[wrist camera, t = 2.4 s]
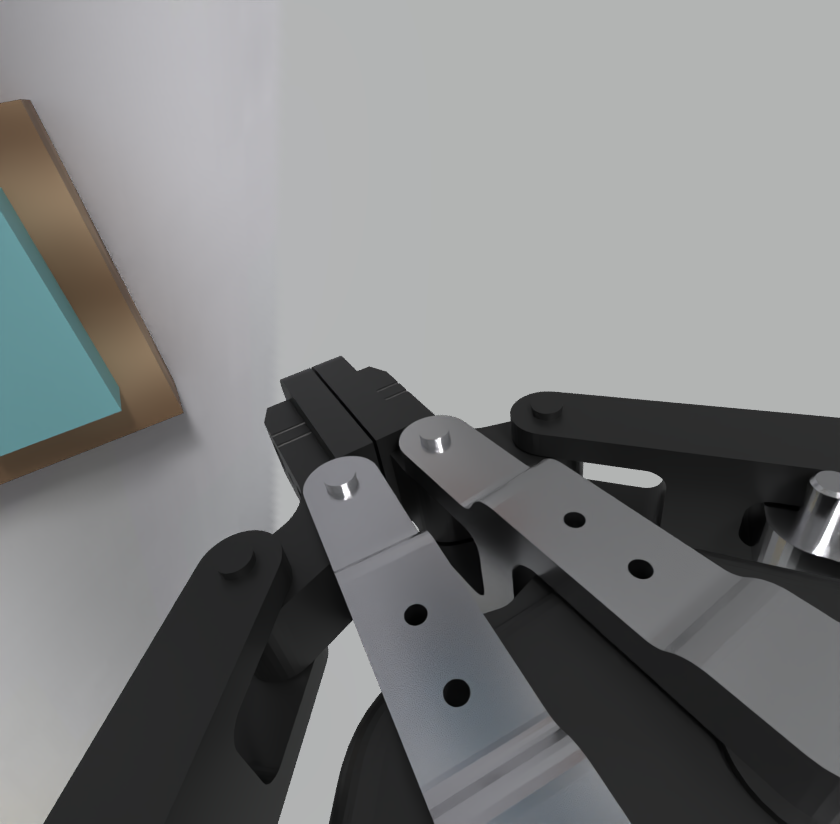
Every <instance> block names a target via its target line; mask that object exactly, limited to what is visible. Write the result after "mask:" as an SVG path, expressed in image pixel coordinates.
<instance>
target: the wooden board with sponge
mask: <svg viewBox="0 0 840 824" xmlns="http://www.w3.org/2000/svg"><path fill="white" fill-rule="evenodd" d="M0 187H1V188H2V189H3V191H4V193H5V195H6V196H7V198H8V200H9V201H10V203H11V205H12V206H13V208H14V210H15V212H16V213H17V215H18V217H19V218H20V220H21V222H22V223H23V225H24V227H25V228H26V230H27V232H28V234H29V235H30V237H31V239H32V240H33V242H34V244H35V245H36V247H37V249H38V251H39V252H40V254H41V256H42V257H43V259H44V261H45V262H46V264H47V266H48V267H49V269H50V271H51V273H52V274H53V276H54V278H55V279H56V281H57V283H58V284H59V286H60V288H61V290H62V291H63V293H64V295H65V296H66V298H67V300H68V301H69V303H70V305H71V306H72V308H73V310H74V312H75V313H76V315H77V317H78V318H79V320H80V322H81V323H82V325H83V327H84V329H85V330H86V332H87V334H88V335H89V337H90V339H91V340H92V342H93V344H94V345H95V347H96V349H97V351H98V352H99V354H100V356H101V357H102V359H103V361H104V362H105V364H106V366H107V368H108V369H109V371H110V373H111V374H112V376H113V378H114V379H115V381H116V383H117V384H118V386H119V391H120V400H121V410H122V411H120V412H117V413H114V414H112V415H109V416H106V417H104V418H101V419H98V420H96V421H93V422H90V423H88V424H85V425H82V426H80V427H77V428H74V429H72V430H69V431H66V432H64V433H61V434H58V435H56V436H53V437H50V438H48V439H45V440H43V441H40V442H37V443H35V444H32V445H29V446H27V447H24V448H21V449H19V450H16V451H13V452H11V453H8V454H5V455H3V456H0V485H1V484H3V483H6V482H8V481H11V480H13V479H16V478H19V477H21V476H24V475H26V474H29V473H31V472H34V471H36V470H39V469H42V468H44V467H47V466H49V465H52V464H54V463H57V462H59V461H62V460H65V459H67V458H70V457H72V456H75V455H77V454H80V453H82V452H85V451H88V450H90V449H93V448H95V447H98V446H100V445H103V444H105V443H108V442H111V441H113V440H116V439H118V438H121V437H123V436H126V435H128V434H131V433H134V432H136V431H139V430H141V429H144V428H146V427H149V426H151V425H154V424H157V423H159V422H162V421H164V420H167V419H169V418H172V417H174V416H177V415H180V414H182V413H184V412H183V409H182V406H181V402H180V399H179V396H178V393H177V389H176V386H175V383H174V380H173V378H172V376H171V374H170V372H169V370H168V369H167V367H166V365H165V363H164V361H163V359H162V357H161V355H160V353H159V351H158V349H157V347H156V345H155V343H154V341H153V339H152V337H151V335H150V333H149V331H148V329H147V328H146V326H145V324H144V322H143V320H142V318H141V316H140V314H139V312H138V310H137V308H136V306H135V304H134V302H133V300H132V298H131V296H130V294H129V292H128V290H127V288H126V286H125V285H124V283H123V281H122V279H121V277H120V275H119V273H118V271H117V269H116V267H115V265H114V263H113V261H112V259H111V257H110V255H109V253H108V251H107V249H106V247H105V245H104V244H103V242H102V240H101V238H100V236H99V234H98V232H97V230H96V228H95V226H94V224H93V222H92V220H91V218H90V216H89V214H88V212H87V210H86V208H85V206H84V204H83V203H82V201H81V199H80V197H79V195H78V193H77V191H76V189H75V187H74V185H73V183H72V181H71V179H70V177H69V175H68V173H67V171H66V169H65V167H64V165H63V163H62V161H61V160H60V158H59V156H58V154H57V152H56V150H55V148H54V146H53V144H52V142H51V140H50V138H49V136H48V134H47V132H46V130H45V128H44V126H43V124H42V122H41V120H40V119H39V117H38V115H37V113H36V111H35V109H34V107H33V105H32V103H31V101H30V100H21V99H20V100H15V101H9V102H4V103H0Z"/></svg>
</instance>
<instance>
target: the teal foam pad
mask: <svg viewBox="0 0 840 824" xmlns="http://www.w3.org/2000/svg"><path fill="white" fill-rule="evenodd" d="M120 411H122V410H121V400H120V391H119V386H118V384H117V383H116V381H115V379H114V378H113V376H112V374H111V373H110V371H109V369H108V368H107V366H106V364H105V362H104V361H103V359H102V357H101V356H100V354H99V352H98V351H97V349H96V347H95V345H94V344H93V342H92V340H91V339H90V337H89V335H88V334H87V332H86V330H85V329H84V327H83V325H82V323H81V322H80V320H79V318H78V317H77V315H76V313H75V312H74V310H73V308H72V306H71V305H70V303H69V301H68V300H67V298H66V296H65V295H64V293H63V291H62V290H61V288H60V286H59V284H58V283H57V281H56V279H55V278H54V276H53V274H52V273H51V271H50V269H49V267H48V266H47V264H46V262H45V261H44V259H43V257H42V256H41V254H40V252H39V251H38V249H37V247H36V245H35V244H34V242H33V240H32V239H31V237H30V235H29V234H28V232H27V230H26V228H25V227H24V225H23V223H22V222H21V220H20V218H19V217H18V215H17V213H16V212H15V210H14V208H13V206H12V205H11V203H10V201H9V200H8V198H7V196H6V195H5V193H4V191H3V189H2V188H1V187H0V456H3V455H5V454H8V453H11V452H13V451H16V450H19V449H21V448H24V447H27V446H29V445H32V444H35V443H37V442H40V441H43V440H45V439H48V438H50V437H53V436H56V435H58V434H61V433H64V432H66V431H69V430H72V429H74V428H77V427H80V426H82V425H85V424H88V423H90V422H93V421H96V420H98V419H101V418H104V417H106V416H109V415H112V414H114V413H117V412H120Z"/></svg>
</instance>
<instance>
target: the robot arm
mask: <svg viewBox="0 0 840 824" xmlns="http://www.w3.org/2000/svg"><path fill="white" fill-rule="evenodd" d="M280 383H281V387H282V390H283V392H284V395H285V398H286V401H284V402H281V403H279V404H276V405H274V406H272V407H269V408H267V412H266V417H265V422H264V423H265V426H266V428H267V431H268V433H269V435H270V438H271V440H272V443H273V445H274V447H275V450H276V452H277V455H278V457H279V459H280V462H281V464H282V467H283V469H284V472H285V474H286V476H287V478H288V479H289V481H290V483H291V485H292V487H293V488H294V491H295V493H296V495H297V496H298V498H299V500H300V503H299V506H298V508H297V510H296V512H295V513H294V515H293V516H292V518H290V520H289V521H288V522H287V523H286V524H285V525H283V526H282V527H281V528H280V529H279V530H277V531H276V532H275V533H274V534H273V535H272V534H270V533H268V532H265V531H258V530H252V531H245V532H241V533H238V534H235V535H232V536H230V537H228V538H226V539H224V540H222V541H221V542H219V543H218V544H217V545H215V546H214V547H213V548H212V549H210V550H209V551H208V552H207V553H206V554H205V556H204V557H203V558H202V559H201V561H200V562H199V564H198V565H197V567H196V569H195V570H194V572H193V574H192V575H191V577H190V579H189V580H188V582H187V584H186V586H185V587H184V589H183V591H182V592H181V594H180V596H179V597H178V599H177V601H176V602H175V604H174V606H173V607H172V609H171V611H170V612H169V614H168V616H167V617H166V619H165V621H164V622H163V624H162V626H161V627H160V629H159V631H158V632H157V634H156V636H155V637H154V639H153V641H152V643H151V644H150V646H149V648H148V649H147V651H146V653H145V654H144V656H143V658H142V659H141V661H140V663H139V664H138V666H137V668H136V669H135V671H134V673H133V674H132V676H131V678H130V679H129V681H128V683H127V684H126V686H125V688H124V689H123V691H122V693H121V694H120V696H119V698H118V699H117V701H116V703H115V705H114V706H113V708H112V710H111V711H110V713H109V715H108V716H107V718H106V720H105V721H104V723H103V725H102V726H101V728H100V730H99V731H98V733H97V735H96V736H95V738H94V740H93V741H92V743H91V745H90V746H89V748H88V750H87V751H86V753H85V755H84V756H83V758H82V760H81V762H80V763H79V765H78V767H77V768H76V770H75V772H74V773H73V775H72V777H71V778H70V780H69V782H68V783H67V785H66V787H65V788H64V790H63V792H62V793H61V795H60V797H59V798H58V800H57V802H56V803H55V805H54V807H53V808H52V810H51V812H50V813H49V815H48V817H47V818H46V820H45V822H44V824H278V821H279V817H280V814H281V811H282V808H283V804H284V801H285V797H286V794H287V791H288V788H289V785H290V781H291V778H292V775H293V771H294V768H295V765H296V761H297V758H298V755H299V752H300V748H301V745H302V742H303V738H304V735H305V732H306V728H307V725H308V722H309V719H310V715H311V712H312V709H313V706H314V702H315V699H316V695H317V692H318V689H319V686H320V683H321V679H322V676H323V673H324V669H325V666H326V662H327V658H328V645H329V644H330V643H331V642H332V641H333V640H334V639H335V638H336V637H337V636H338V635H339V634H340V633H341V632H342V630H344V628H345V627H346V626H347V625H348V624H349V623H350V622H351V621H352V620H353V621H354V623H355V626H356V628H357V631H358V633H359V636H360V638H361V641H362V643H363V646H364V648H365V651H366V653H367V656H368V658H369V661H370V664H371V666H372V669H373V671H374V674H375V676H376V679H377V681H378V683H379V686H380V689H381V691H382V692H381V693H380V694H379V696H378V697H377V698H376V699H375V701H374V702H373V703H372V705H371V706H370V708H369V709H368V710H367V712H366V713H365V715H364V717H363V718H362V720H361V722H360V723H359V725H358V727H357V729H356V731H355V733H354V736H353V737H352V740H351V742H350V744H349V746H348V749H347V752H346V755H345V758H344V761H343V764H342V767H341V771H340V775H339V779H338V783H337V788H336V793H335V798H334V802H333V807H332V812H331V816H330V821H329V824H840V418H834V417H824V416H813V415H802V414H791V413H780V412H770V411H759V410H747V409H737V408H726V407H715V406H704V405H693V404H682V403H671V402H660V401H650V400H639V399H628V398H617V397H606V396H595V395H584V394H573V393H561V392H537V393H533V394H529V395H527V396H524V397H522V398H521V399H519V400H518V401H517V402H516V403H515V404H514V405H513V406H512V408H511V411H510V414H511V415H510V416H511V421H510V422H506V423H502V424H498V425H492V426H488V427H483V428H475V429H474V428H473V427H471V426H470V425H468V424H467V423H466V422H464V421H463V420H461V419H459V418H456V417H452V416H446V415H436V416H435V415H434V414H433V413H432V412H431V411H430V410H428V409H427V408H426V407H425V406H424V405H423V404H422V403H421V402H420V401H418V400H417V399H416V398H415V397H414V396H413V395H412V394H411V393H409V392H408V391H406V389H405V388H404V387H403V386H402V385H401V384H398V383H397V381H396V380H395V379H394V378H393V377H392V376H391V375H389V374H388V373H387V372H386V371H382V370H379V369H376V368H372V367H367V368H365V369H362V370H359V371H356V370H355V369H354V368H353V367H352V366H351V365H350V364H349V363H348V362H347V361H346V360H345V359H344V358H343V357H342V356H339V357H337V358H334V359H331V360H329V361H326V362H324V363H321V364H319V365H316V366H314V367H312V369H310V368H309V369H307V370H304V371H301V372H299V373H296V374H294V375H291V376H288V377H286V378H283V379H281V380H280ZM583 462H587V463H595V464H601V465H608V466H615V467H622V468H630V469H637V470H643V471H649V472H652V473H655V474H657V475H658V476H660V477H661V478H662V479H663V481H662V482H661V483H660V484H659V485H658V486H656V487H652V488H641V487H634V486H627V485H621V484H615V483H608V482H602V481H595V480H589V479H585V478H583ZM412 521H413V522H414V523H415V524H416V526H417V527H418V528H419V532H418V530H417V529H416V528H415V526H414V524H413V523H412Z"/></svg>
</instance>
